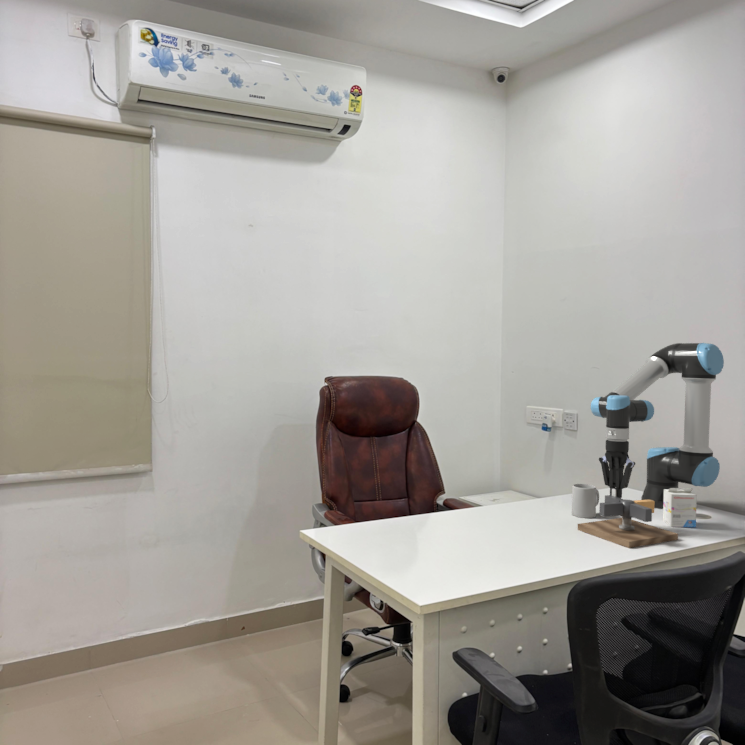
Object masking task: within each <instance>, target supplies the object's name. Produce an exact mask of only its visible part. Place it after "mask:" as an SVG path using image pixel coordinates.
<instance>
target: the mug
mask: <svg viewBox="0 0 745 745" xmlns="http://www.w3.org/2000/svg"><path fill="white" fill-rule="evenodd" d="M571 492H572V493H571V494H572V495H571V515H572V516H573V517H576V518H580V519H581V518H582V519H593V518H595V517H596V516H597V506H599V504H600V492H599V489H597V486H595V485H593V484H589V483H574V484H573V485H572V491H571Z"/></svg>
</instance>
